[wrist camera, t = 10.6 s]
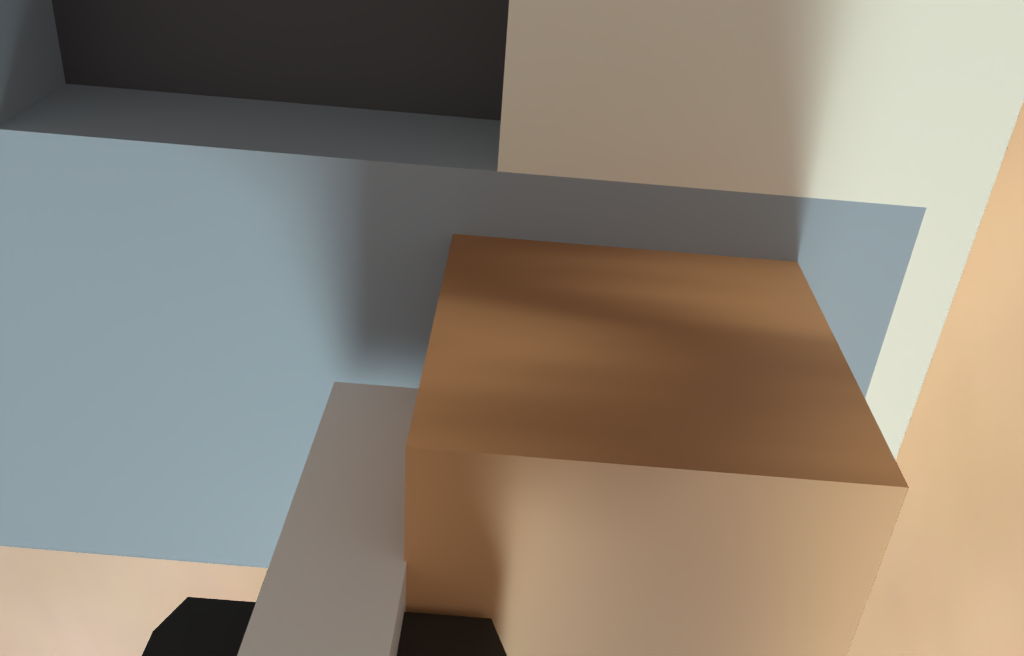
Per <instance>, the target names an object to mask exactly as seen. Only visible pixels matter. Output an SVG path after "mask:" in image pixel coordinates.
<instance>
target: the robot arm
mask: <svg viewBox="0 0 1024 656" xmlns="http://www.w3.org/2000/svg"><path fill="white" fill-rule="evenodd" d="M418 389H419V388H406V387H394V386H382V385H369V384H357V383H345V382H334V384H333V387H332V390H331V393H330V396H329V398H328V401H327V404H326V407H325V410H324V412H323V415H322V418H321V421H320V424H319V427H318V429H317V432H316V435H315V438H314V441H313V443H312V446H311V449H310V452H309V455H308V458H307V460H306V463H305V466H304V469H303V472H302V474H301V477H300V480H299V483H298V486H297V488H296V491H295V494H294V497H293V500H292V503H291V505H290V508H289V511H288V514H287V517H286V519H285V522H284V525H283V528H282V531H281V533H280V536H279V539H278V542H277V545H276V548H275V550H274V553H273V556H272V559H271V562H270V564H269V567H268V570H267V573H266V576H265V579H264V581H263V584H262V587H261V590H260V593H259V595H258V598H257V601H256V602H244V601H231V600H219V599H206V598H193V597H187V598H186V599H185V600H184V601H183V602H182V603H181V604H180V605H179V606H178V607H177V608H176V609H175V610H174V611H173V612H172V613H171V614H170V615H169V616H168V617H167V618H166V619H165V620H164V621H163V622H162V623H161V624H160V625H159V626H158V627H157V628H156V629H155V630H154V631H153V633H152V635H151V637H150V639H149V641H148V644H147V646H146V648H145V650H144V652H143V654H142V656H507V654H506V652H505V650H504V647H503V645H502V642H501V640H500V638H499V635H498V633H497V631H496V628H495V626H494V624H493V621H492V619H491V618H478V617H466V616H453V615H440V614H428V613H415V612H406V565H407V561H404V518H405V458H406V443H407V439H408V434H409V430H410V425H411V421H412V416H413V412H414V407H415V403H416V398H417V394H418Z"/></svg>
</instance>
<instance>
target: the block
mask: <svg viewBox="0 0 1024 656" xmlns="http://www.w3.org/2000/svg"><path fill="white" fill-rule="evenodd" d="M908 488H909V487H908V485H907V483H906V481H905V479H904V477H903V475H902V473H901V471H900V469H899V467H898V465H897V463H896V461H895V459H894V457H893V455H892V453H891V451H890V449H889V447H888V445H887V442H886V440H885V438H884V436H883V434H882V432H881V430H880V428H879V426H878V424H877V422H876V420H875V418H874V416H873V414H872V412H871V410H870V408H869V406H868V404H867V402H866V400H865V398H864V396H863V394H862V392H861V390H860V388H859V386H858V384H857V382H856V380H855V377H854V375H853V373H852V371H851V369H850V367H849V365H848V363H847V361H846V359H845V357H844V355H843V353H842V351H841V349H840V347H839V345H838V343H837V341H836V339H835V337H834V335H833V333H832V331H831V329H830V327H829V325H828V323H827V321H826V319H825V317H824V315H823V312H822V310H821V308H820V306H819V304H818V302H817V300H816V298H815V296H814V294H813V292H812V290H811V288H810V286H809V284H808V282H807V280H806V278H805V276H804V274H803V272H802V270H801V268H800V266H799V264H798V262H793V261H780V260H768V259H756V258H744V257H731V256H719V255H707V254H695V253H682V252H670V251H658V250H646V249H633V248H621V247H609V246H597V245H584V244H572V243H560V242H548V241H535V240H523V239H511V238H499V237H486V236H474V235H462V234H453V236H452V240H451V245H450V249H449V254H448V258H447V263H446V267H445V272H444V276H443V281H442V285H441V290H440V294H439V299H438V303H437V308H436V312H435V317H434V321H433V326H432V330H431V335H430V339H429V344H428V349H427V353H426V358H425V362H424V367H423V371H422V376H421V380H420V385H419V389H418V394H417V398H416V403H415V407H414V412H413V416H412V421H411V425H410V430H409V434H408V439H407V443H406V458H405V518H404V561H407V565H406V612H415V613H428V614H440V615H453V616H466V617H478V618H491V619H492V621H493V624H494V626H495V628H496V631H497V633H498V635H499V638H500V640H501V642H502V645H503V647H504V650H505V652H506V654H507V656H847V654H848V651H849V648H850V646H851V643H852V640H853V637H854V635H855V632H856V629H857V627H858V624H859V621H860V618H861V616H862V613H863V610H864V608H865V605H866V602H867V600H868V597H869V594H870V591H871V589H872V586H873V583H874V581H875V578H876V575H877V572H878V570H879V567H880V564H881V562H882V559H883V556H884V553H885V551H886V548H887V545H888V543H889V540H890V537H891V534H892V532H893V529H894V526H895V524H896V521H897V518H898V515H899V513H900V510H901V507H902V505H903V502H904V499H905V496H906V494H907V491H908Z"/></svg>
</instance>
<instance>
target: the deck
mask: <svg viewBox="0 0 1024 656" xmlns="http://www.w3.org/2000/svg"><path fill="white" fill-rule="evenodd" d="M1023 101H1024V0H0V546H9V547H21V548H33V549H45V550H57V551H69V552H81V553H93V554H105V555H117V556H129V557H141V558H153V559H165V560H177V561H189V562H201V563H213V564H225V565H237V566H249V567H261V568H268V567H269V564H270V562H271V559H272V556H273V553H274V550H275V548H276V545H277V542H278V539H279V536H280V533H281V531H282V528H283V525H284V522H285V519H286V517H287V514H288V511H289V508H290V505H291V503H292V500H293V497H294V494H295V491H296V488H297V486H298V483H299V480H300V477H301V474H302V472H303V469H304V466H305V463H306V460H307V458H308V455H309V452H310V449H311V446H312V443H313V441H314V438H315V435H316V432H317V429H318V427H319V424H320V421H321V418H322V415H323V412H324V410H325V407H326V404H327V401H328V398H329V396H330V393H331V390H332V387H333V384H334V382H345V383H357V384H369V385H382V386H394V387H406V388H419V385H420V380H421V376H422V371H423V367H424V362H425V358H426V353H427V349H428V344H429V339H430V335H431V330H432V326H433V321H434V317H435V312H436V308H437V303H438V299H439V294H440V290H441V285H442V281H443V276H444V272H445V267H446V263H447V258H448V254H449V249H450V245H451V240H452V236H453V234H462V235H474V236H486V237H499V238H511V239H523V240H535V241H548V242H560V243H572V244H584V245H597V246H609V247H621V248H633V249H646V250H658V251H670V252H682V253H695V254H707V255H719V256H731V257H744V258H756V259H768V260H780V261H793V262H798V264H799V266H800V268H801V270H802V272H803V274H804V276H805V278H806V280H807V282H808V284H809V286H810V288H811V290H812V292H813V294H814V296H815V298H816V300H817V302H818V304H819V306H820V308H821V310H822V312H823V315H824V317H825V319H826V321H827V323H828V325H829V327H830V329H831V331H832V333H833V335H834V337H835V339H836V341H837V343H838V345H839V347H840V349H841V351H842V353H843V355H844V357H845V359H846V361H847V363H848V365H849V367H850V369H851V371H852V373H853V375H854V377H855V380H856V382H857V384H858V386H859V388H860V390H861V392H862V394H863V396H864V398H865V400H866V402H867V404H868V406H869V408H870V410H871V412H872V414H873V416H874V418H875V420H876V422H877V424H878V426H879V428H880V430H881V432H882V434H883V436H884V438H885V440H886V442H887V445H888V447H889V449H890V451H891V453H892V455H893V457H894V459H895V460H896V457H897V454H898V451H899V449H900V446H901V443H902V440H903V437H904V435H905V432H906V429H907V426H908V423H909V421H910V418H911V415H912V412H913V409H914V407H915V404H916V401H917V398H918V395H919V393H920V390H921V387H922V384H923V381H924V378H925V376H926V373H927V370H928V367H929V364H930V362H931V359H932V356H933V353H934V350H935V348H936V345H937V342H938V339H939V336H940V334H941V331H942V328H943V325H944V322H945V320H946V317H947V314H948V311H949V308H950V306H951V303H952V300H953V297H954V294H955V292H956V289H957V286H958V283H959V280H960V278H961V275H962V272H963V269H964V266H965V263H966V261H967V258H968V255H969V252H970V249H971V247H972V244H973V241H974V238H975V235H976V233H977V230H978V227H979V224H980V221H981V219H982V216H983V213H984V210H985V207H986V205H987V202H988V199H989V196H990V193H991V191H992V188H993V185H994V182H995V179H996V177H997V174H998V171H999V168H1000V165H1001V163H1002V160H1003V157H1004V154H1005V151H1006V148H1007V146H1008V143H1009V140H1010V137H1011V134H1012V132H1013V129H1014V126H1015V123H1016V120H1017V118H1018V115H1019V112H1020V109H1021V106H1022V104H1023Z"/></svg>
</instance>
